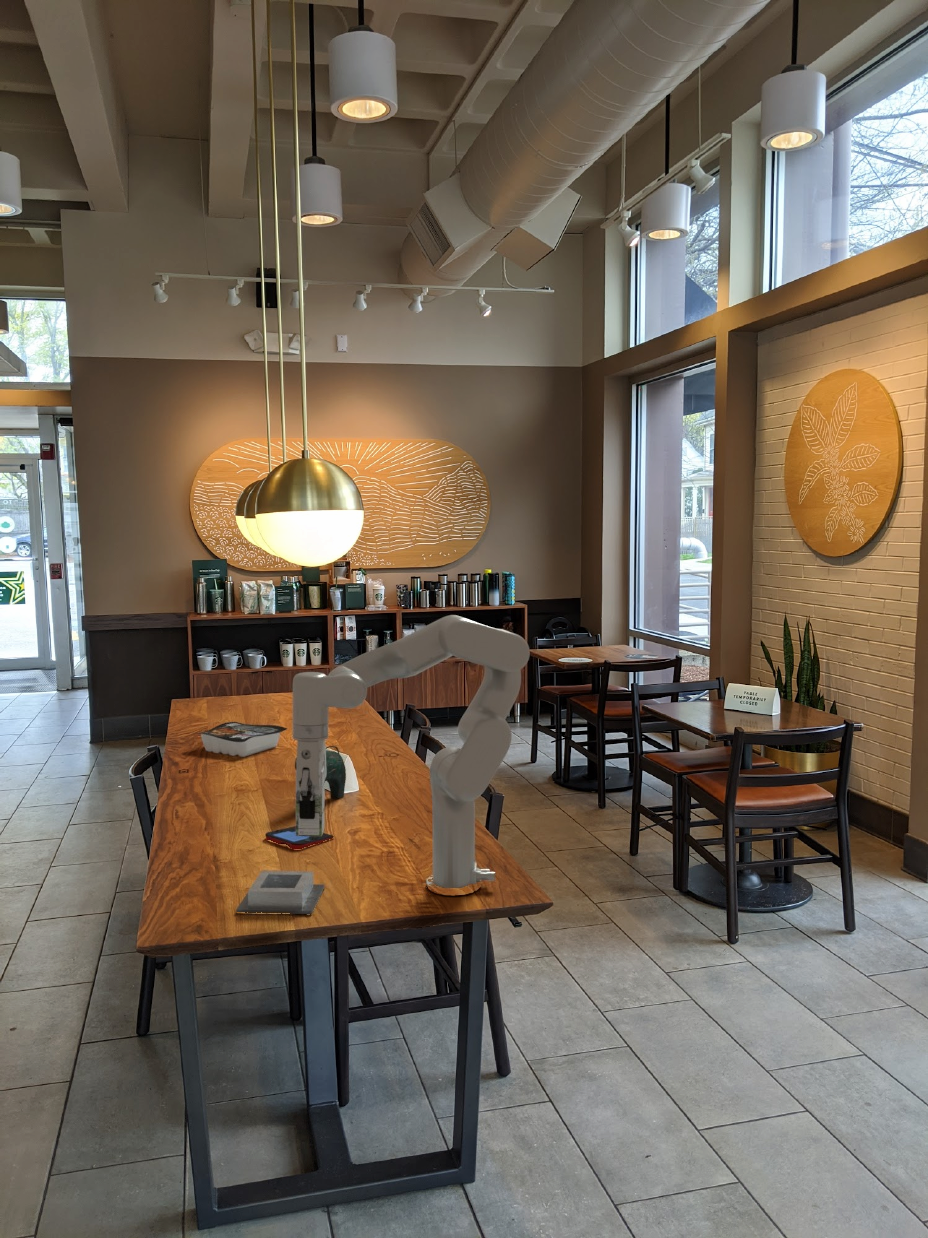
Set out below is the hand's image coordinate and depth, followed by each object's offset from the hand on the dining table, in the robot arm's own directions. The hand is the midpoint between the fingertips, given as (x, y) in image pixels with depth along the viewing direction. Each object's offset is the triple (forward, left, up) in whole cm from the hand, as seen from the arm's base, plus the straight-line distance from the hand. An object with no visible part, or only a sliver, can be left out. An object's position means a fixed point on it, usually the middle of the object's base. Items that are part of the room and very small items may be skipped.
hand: (310, 813), depth 198 cm
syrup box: (0, 0, -5) cm, 5 cm away
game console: (+12, -41, -21) cm, 47 cm away
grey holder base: (+7, -1, -20) cm, 21 cm away
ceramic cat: (+12, -71, -20) cm, 74 cm away
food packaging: (+54, -135, -21) cm, 147 cm away
